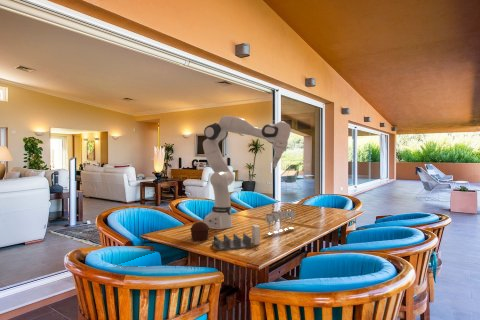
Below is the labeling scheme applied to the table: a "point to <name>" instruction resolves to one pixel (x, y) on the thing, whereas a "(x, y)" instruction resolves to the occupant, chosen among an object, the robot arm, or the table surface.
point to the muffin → (199, 231)
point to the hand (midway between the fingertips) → (274, 167)
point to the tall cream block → (256, 234)
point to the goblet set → (279, 214)
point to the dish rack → (232, 242)
